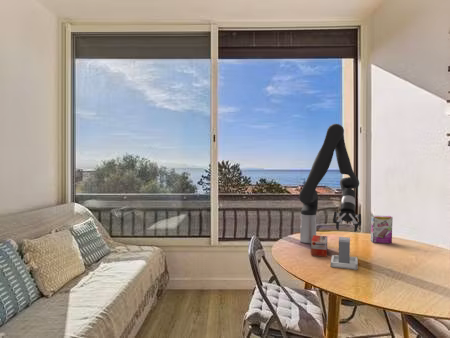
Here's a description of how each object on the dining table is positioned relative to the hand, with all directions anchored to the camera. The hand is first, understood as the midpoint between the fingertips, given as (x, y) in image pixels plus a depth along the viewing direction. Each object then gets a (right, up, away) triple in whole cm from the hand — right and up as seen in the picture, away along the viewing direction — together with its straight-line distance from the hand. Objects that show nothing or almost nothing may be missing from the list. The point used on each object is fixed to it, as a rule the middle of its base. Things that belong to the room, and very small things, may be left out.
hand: (346, 230), depth 174 cm
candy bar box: (+32, -13, +28) cm, 45 cm away
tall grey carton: (-6, -14, -12) cm, 19 cm away
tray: (-6, -14, -13) cm, 20 cm away
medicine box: (-12, -14, +8) cm, 20 cm away
